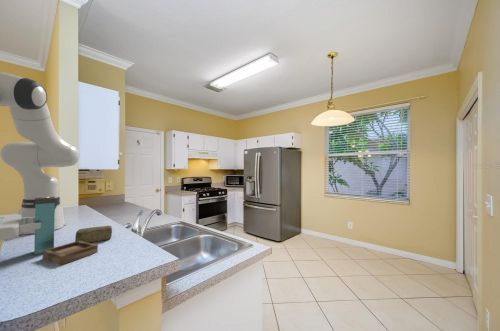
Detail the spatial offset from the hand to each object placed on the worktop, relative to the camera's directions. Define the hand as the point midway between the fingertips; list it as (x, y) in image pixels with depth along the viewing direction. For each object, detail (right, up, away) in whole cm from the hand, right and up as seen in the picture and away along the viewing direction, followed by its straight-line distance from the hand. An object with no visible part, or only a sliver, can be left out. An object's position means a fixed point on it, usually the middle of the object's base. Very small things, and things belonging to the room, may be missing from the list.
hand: (40, 222), depth 70 cm
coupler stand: (+12, -10, -2) cm, 16 cm away
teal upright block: (+1, -10, +1) cm, 10 cm away
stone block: (+9, -11, +12) cm, 18 cm away
